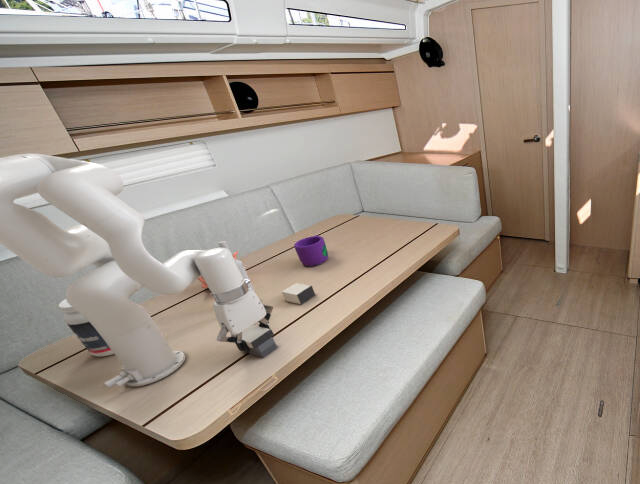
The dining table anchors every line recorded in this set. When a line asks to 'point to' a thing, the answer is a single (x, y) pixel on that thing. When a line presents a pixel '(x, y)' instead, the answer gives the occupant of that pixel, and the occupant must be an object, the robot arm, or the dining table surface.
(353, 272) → the dining table surface
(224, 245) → the bottle
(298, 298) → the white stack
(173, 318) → the dining table surface
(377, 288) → the dining table surface
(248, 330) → the white book
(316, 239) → the mug
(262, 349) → the gray rectangular block
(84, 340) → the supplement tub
